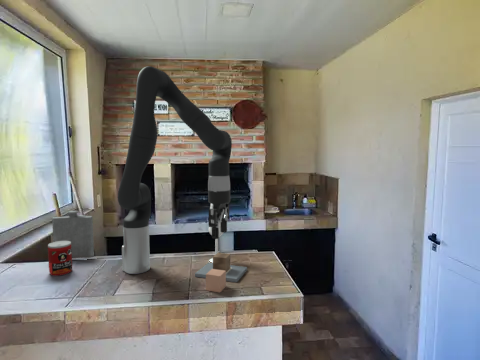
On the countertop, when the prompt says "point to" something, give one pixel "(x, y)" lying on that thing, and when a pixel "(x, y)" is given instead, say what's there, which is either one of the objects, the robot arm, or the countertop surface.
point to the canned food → (60, 257)
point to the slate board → (231, 274)
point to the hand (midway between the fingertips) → (219, 235)
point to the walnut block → (221, 261)
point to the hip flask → (75, 233)
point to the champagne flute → (215, 239)
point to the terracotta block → (215, 280)
